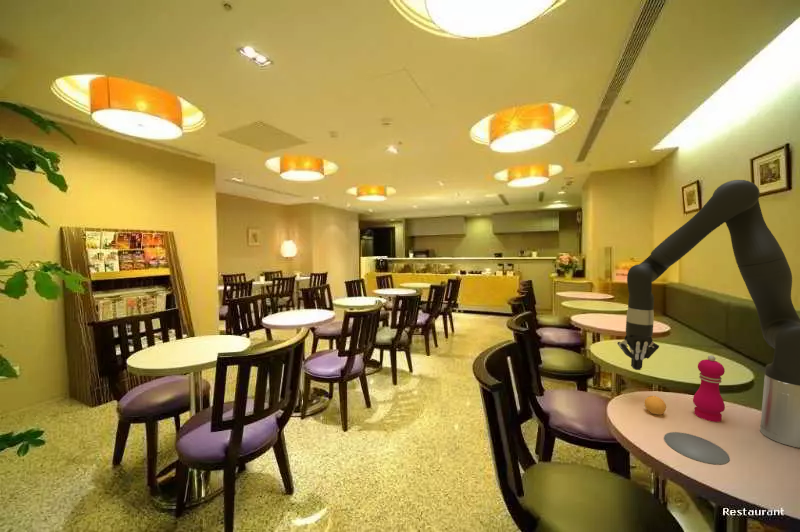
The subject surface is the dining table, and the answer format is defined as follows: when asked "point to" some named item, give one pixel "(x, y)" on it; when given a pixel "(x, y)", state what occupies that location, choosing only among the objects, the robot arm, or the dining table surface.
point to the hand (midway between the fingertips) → (636, 369)
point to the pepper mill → (709, 391)
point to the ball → (655, 405)
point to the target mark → (696, 448)
